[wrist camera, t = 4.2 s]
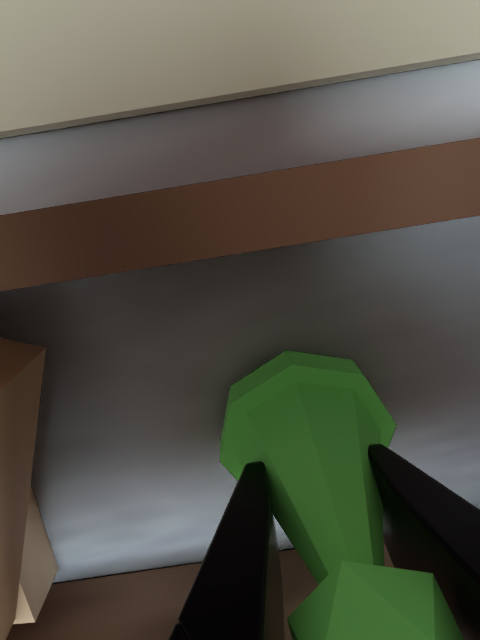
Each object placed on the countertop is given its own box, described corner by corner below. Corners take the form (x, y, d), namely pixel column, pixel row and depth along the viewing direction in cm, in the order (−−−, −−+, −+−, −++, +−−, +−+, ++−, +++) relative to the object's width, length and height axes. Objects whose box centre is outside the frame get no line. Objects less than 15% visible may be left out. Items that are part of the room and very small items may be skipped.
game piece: (199, 369, 9) (145, 706, 3) (375, 330, 8) (680, 611, 3) (238, 501, 10) (253, 899, 4) (390, 471, 10) (608, 844, 4)
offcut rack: (600, 123, 7) (832, 80, 5) (527, 537, 11) (626, 650, 9) (-280, 265, 8) (-575, 308, 5) (-46, 620, 12) (-131, 755, 9)
